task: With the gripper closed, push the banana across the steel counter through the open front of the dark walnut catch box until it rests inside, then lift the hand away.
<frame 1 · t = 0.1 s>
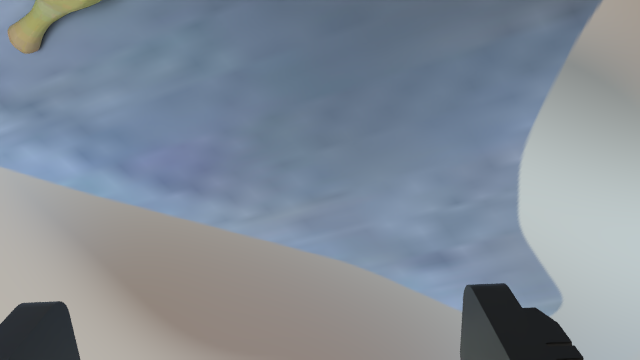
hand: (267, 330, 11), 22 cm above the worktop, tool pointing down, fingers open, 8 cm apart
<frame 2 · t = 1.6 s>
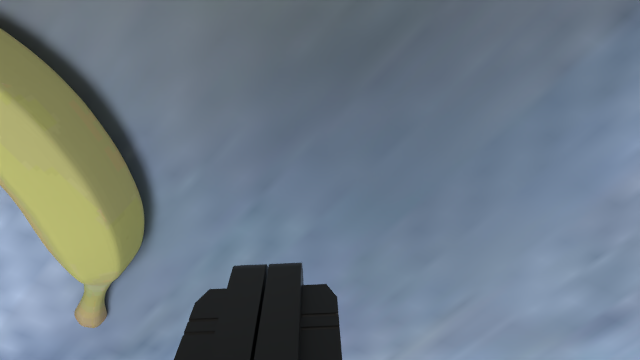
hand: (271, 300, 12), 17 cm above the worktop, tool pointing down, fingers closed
banana: (12, 162, 28), on the worktop
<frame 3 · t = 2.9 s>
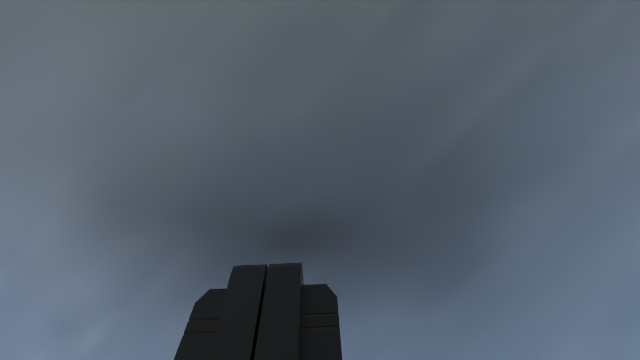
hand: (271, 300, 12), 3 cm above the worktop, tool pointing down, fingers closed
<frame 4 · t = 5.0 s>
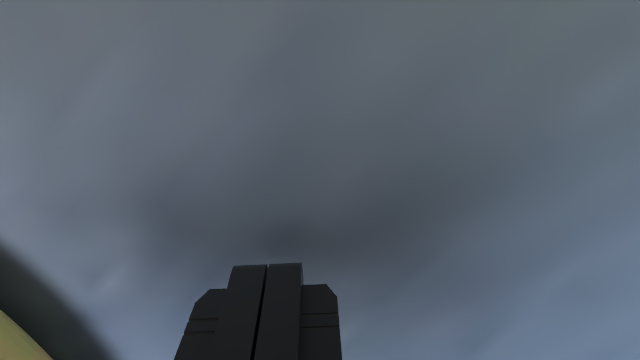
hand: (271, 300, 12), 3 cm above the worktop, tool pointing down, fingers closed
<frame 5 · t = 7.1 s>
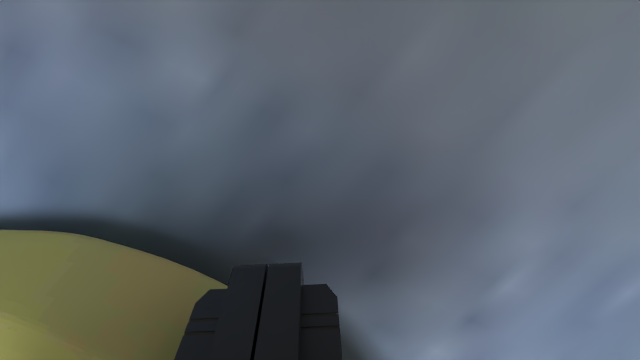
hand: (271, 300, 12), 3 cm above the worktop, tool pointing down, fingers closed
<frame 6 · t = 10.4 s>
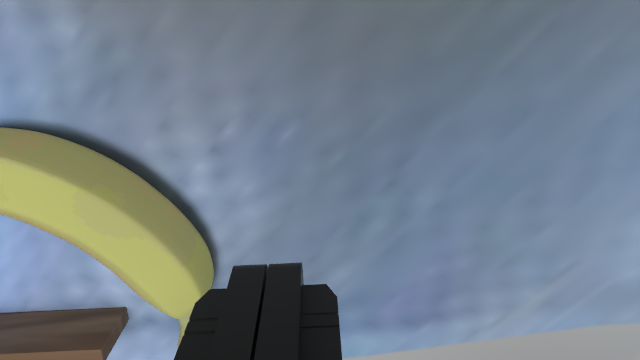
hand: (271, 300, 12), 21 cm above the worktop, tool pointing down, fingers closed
banana: (97, 238, 35), on the worktop
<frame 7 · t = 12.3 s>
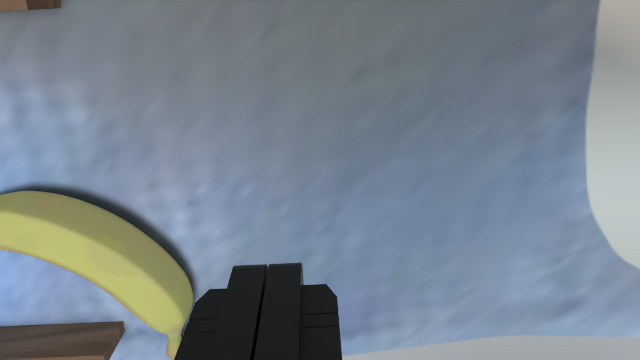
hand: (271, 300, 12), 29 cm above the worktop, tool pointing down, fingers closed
banana: (103, 270, 45), on the worktop
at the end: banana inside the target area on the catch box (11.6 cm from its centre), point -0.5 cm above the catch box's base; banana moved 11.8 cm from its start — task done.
